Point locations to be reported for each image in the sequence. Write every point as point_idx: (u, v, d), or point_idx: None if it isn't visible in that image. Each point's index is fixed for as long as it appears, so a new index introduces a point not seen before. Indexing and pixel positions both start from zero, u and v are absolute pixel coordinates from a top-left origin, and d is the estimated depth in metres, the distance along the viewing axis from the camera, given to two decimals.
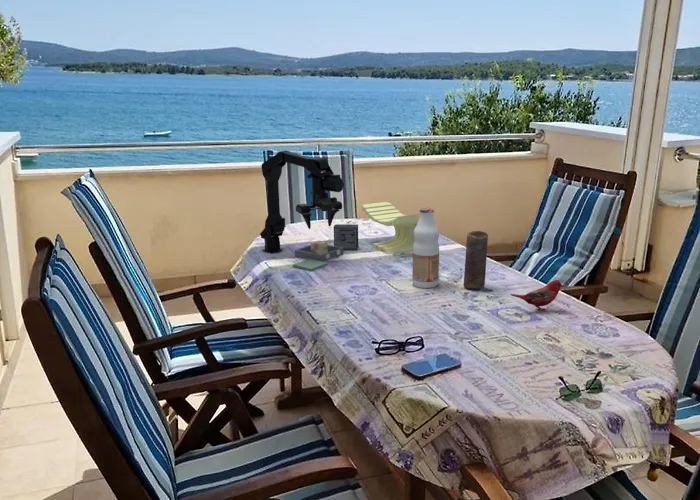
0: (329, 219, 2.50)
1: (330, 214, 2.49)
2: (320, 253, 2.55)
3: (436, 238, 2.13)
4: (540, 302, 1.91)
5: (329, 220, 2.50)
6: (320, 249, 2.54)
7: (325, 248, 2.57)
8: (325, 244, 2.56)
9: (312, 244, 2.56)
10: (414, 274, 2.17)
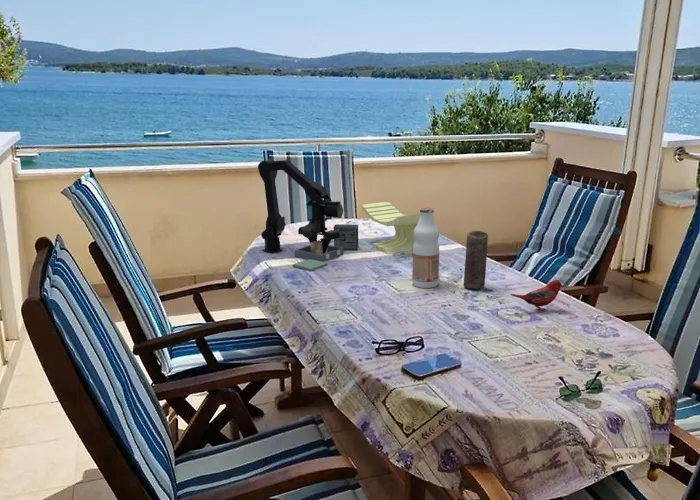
0: None
1: None
2: (320, 253, 2.55)
3: (436, 238, 2.13)
4: (540, 302, 1.91)
5: None
6: (320, 249, 2.54)
7: None
8: None
9: (312, 244, 2.56)
10: (414, 274, 2.17)
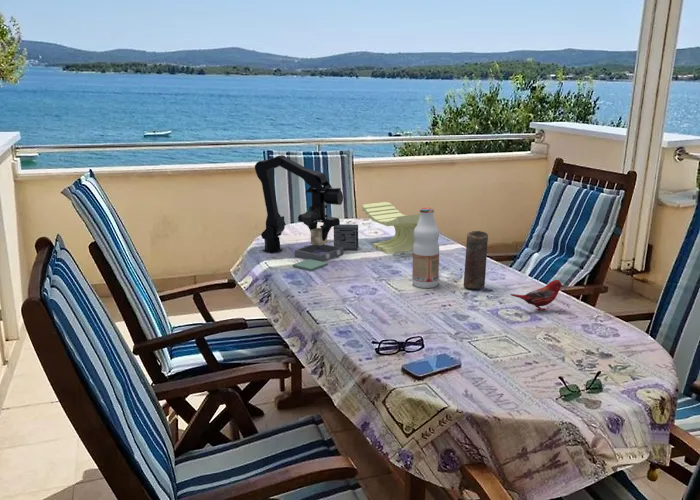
0: None
1: None
2: (320, 240, 2.53)
3: (436, 238, 2.13)
4: (540, 302, 1.91)
5: None
6: (320, 237, 2.53)
7: None
8: None
9: (312, 231, 2.54)
10: (414, 274, 2.17)
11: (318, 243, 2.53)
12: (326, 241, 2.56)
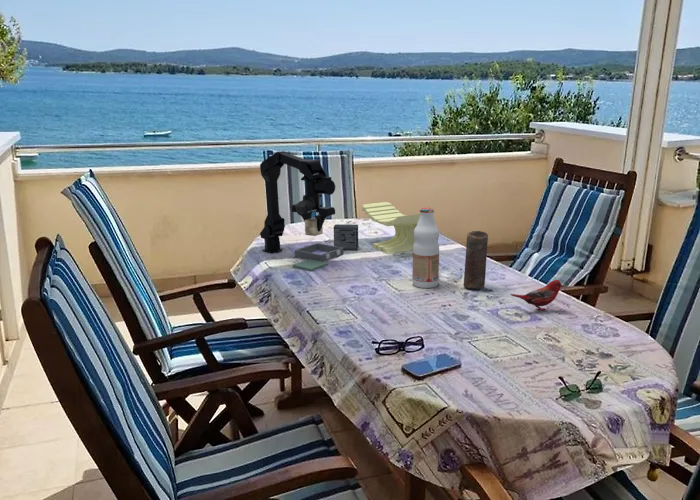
0: None
1: None
2: (315, 231, 2.43)
3: (436, 238, 2.13)
4: (540, 302, 1.91)
5: None
6: (315, 227, 2.42)
7: None
8: None
9: (306, 221, 2.44)
10: (414, 274, 2.17)
11: (313, 234, 2.43)
12: (321, 232, 2.46)
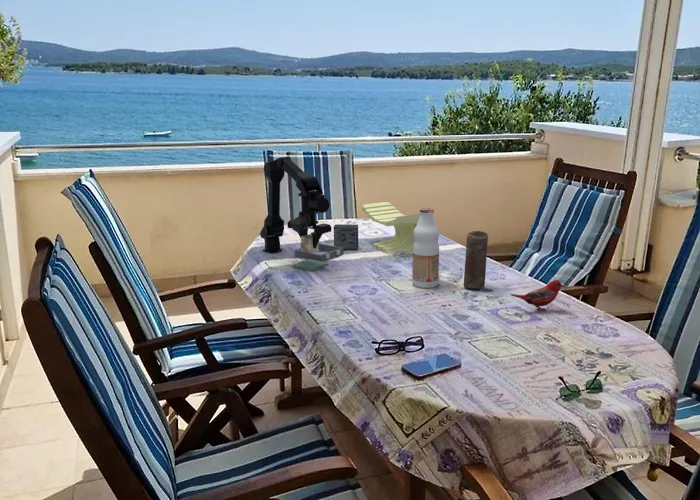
0: None
1: None
2: (311, 248, 2.39)
3: (436, 238, 2.13)
4: (540, 302, 1.91)
5: None
6: (311, 244, 2.38)
7: None
8: None
9: (302, 238, 2.40)
10: (414, 274, 2.17)
11: (309, 251, 2.39)
12: (317, 248, 2.42)
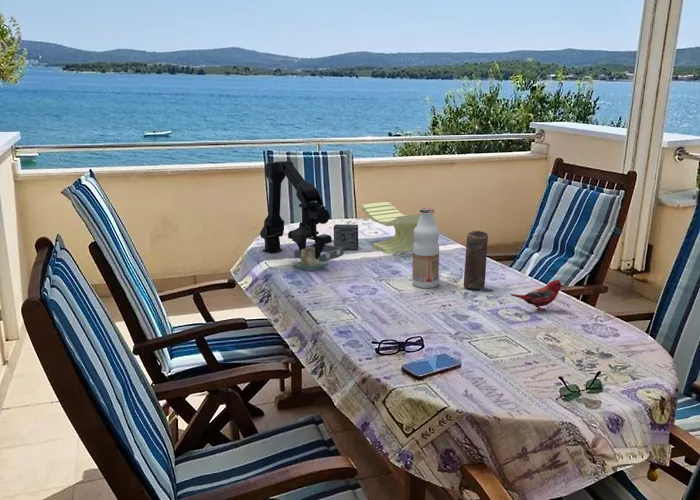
0: None
1: None
2: (311, 261, 2.40)
3: (436, 238, 2.13)
4: (540, 302, 1.91)
5: None
6: (311, 257, 2.40)
7: None
8: None
9: (303, 251, 2.41)
10: (414, 274, 2.17)
11: (309, 263, 2.40)
12: (318, 261, 2.43)
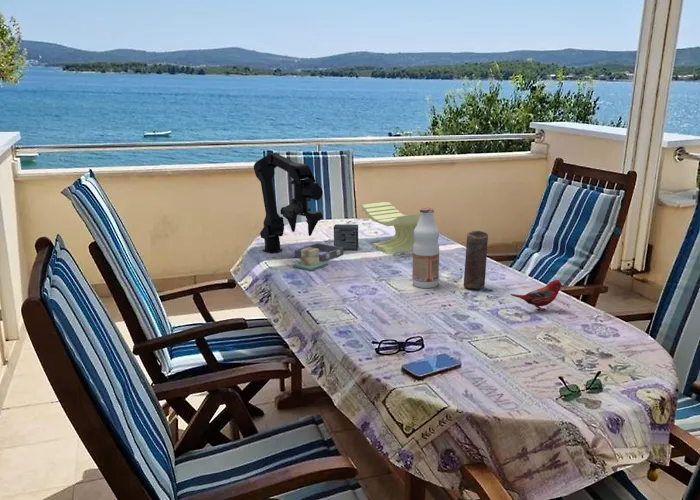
0: None
1: None
2: (311, 261, 2.40)
3: (436, 238, 2.12)
4: (540, 302, 1.91)
5: None
6: (311, 257, 2.40)
7: (316, 255, 2.42)
8: (316, 251, 2.42)
9: (303, 251, 2.41)
10: (414, 274, 2.17)
11: (309, 263, 2.40)
12: (318, 261, 2.43)
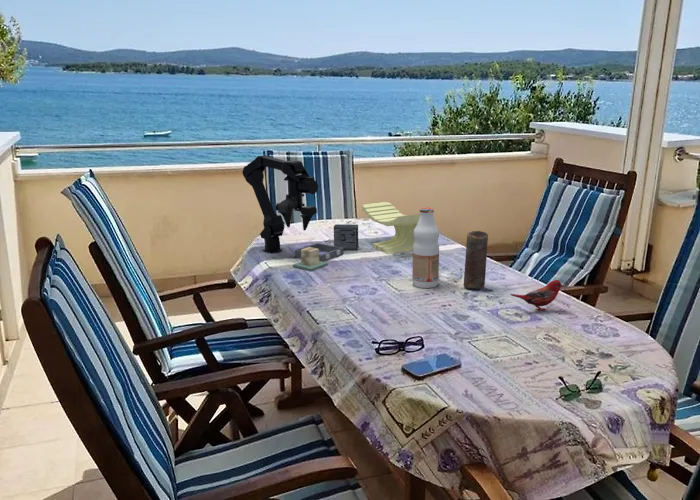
0: None
1: None
2: (311, 261, 2.40)
3: (436, 238, 2.12)
4: (540, 302, 1.91)
5: None
6: (311, 257, 2.40)
7: (316, 255, 2.42)
8: (316, 251, 2.42)
9: (303, 251, 2.41)
10: (414, 274, 2.17)
11: (309, 263, 2.40)
12: (318, 261, 2.43)
